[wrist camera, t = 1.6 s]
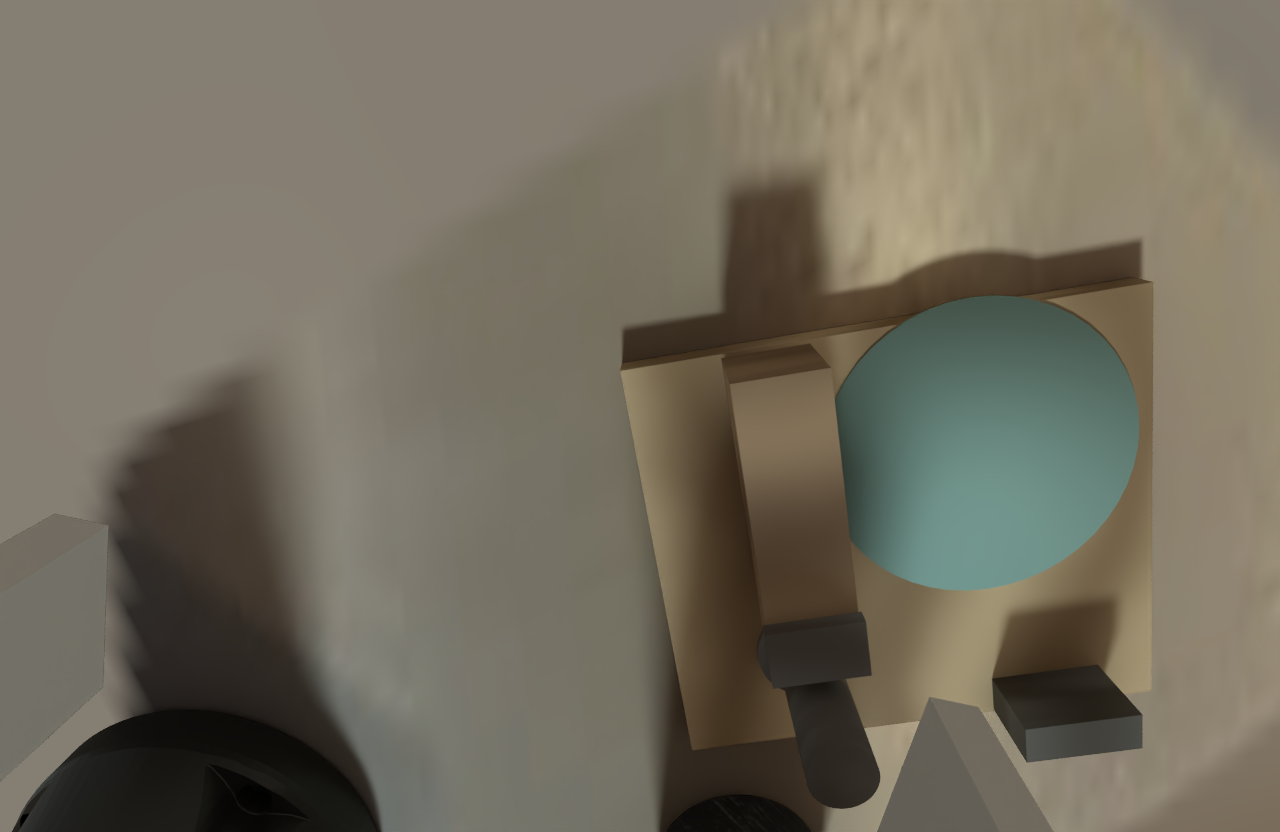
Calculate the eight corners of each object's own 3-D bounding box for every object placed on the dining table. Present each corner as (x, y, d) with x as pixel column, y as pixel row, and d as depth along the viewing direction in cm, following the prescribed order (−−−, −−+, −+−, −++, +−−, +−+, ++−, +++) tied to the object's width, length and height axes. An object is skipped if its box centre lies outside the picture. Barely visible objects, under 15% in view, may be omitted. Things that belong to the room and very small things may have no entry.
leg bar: (844, 609, 30) (872, 675, 26) (758, 621, 30) (773, 689, 26) (812, 343, 27) (838, 372, 23) (718, 358, 27) (728, 390, 23)
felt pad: (838, 607, 31) (839, 609, 30) (804, 325, 27) (805, 326, 27) (1136, 564, 30) (1139, 567, 30) (1136, 269, 27) (1139, 269, 26)
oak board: (690, 730, 34) (700, 900, 26) (622, 363, 29) (607, 433, 21) (1133, 672, 32) (1285, 832, 24) (1133, 277, 28) (1318, 318, 20)
